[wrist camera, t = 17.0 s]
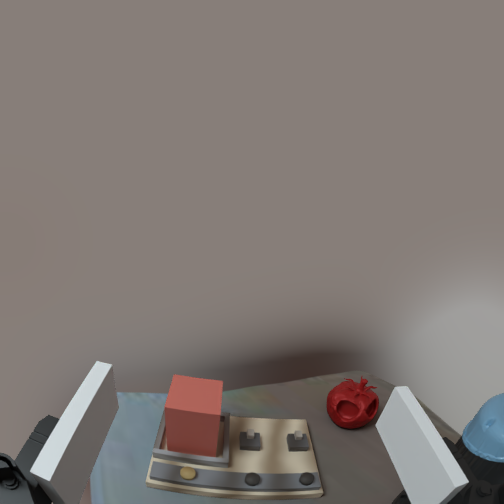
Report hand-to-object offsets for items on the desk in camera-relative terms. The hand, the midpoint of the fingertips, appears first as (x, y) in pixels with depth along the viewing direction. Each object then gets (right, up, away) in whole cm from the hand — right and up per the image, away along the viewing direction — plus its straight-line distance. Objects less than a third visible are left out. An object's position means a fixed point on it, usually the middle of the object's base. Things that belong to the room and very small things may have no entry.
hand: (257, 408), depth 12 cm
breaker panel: (-3, -24, +26) cm, 35 cm away
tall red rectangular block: (-9, -21, +27) cm, 35 cm away
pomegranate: (+18, -24, +37) cm, 48 cm away
